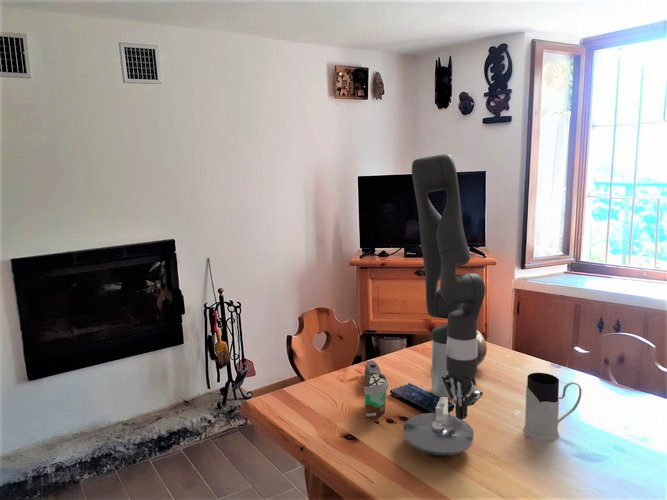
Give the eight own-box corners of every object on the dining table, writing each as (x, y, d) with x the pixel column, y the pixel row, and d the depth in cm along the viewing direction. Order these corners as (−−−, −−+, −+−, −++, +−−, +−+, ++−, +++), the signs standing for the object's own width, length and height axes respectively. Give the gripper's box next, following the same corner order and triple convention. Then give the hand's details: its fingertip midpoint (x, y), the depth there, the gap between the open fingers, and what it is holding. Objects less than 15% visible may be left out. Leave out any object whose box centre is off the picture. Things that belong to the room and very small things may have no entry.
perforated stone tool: (364, 373, 169) (363, 354, 168) (379, 373, 169) (379, 354, 168) (365, 392, 154) (365, 372, 153) (382, 392, 154) (382, 371, 153)
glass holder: (518, 424, 133) (520, 371, 130) (571, 423, 132) (574, 370, 130) (530, 441, 124) (532, 386, 121) (587, 441, 123) (590, 385, 121)
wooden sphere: (482, 379, 161) (483, 335, 158) (437, 372, 167) (437, 330, 165) (489, 362, 174) (490, 322, 172) (447, 357, 181) (447, 318, 178)
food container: (387, 422, 135) (386, 389, 134) (365, 421, 137) (364, 387, 135) (390, 402, 147) (390, 370, 146) (370, 400, 148) (369, 369, 147)
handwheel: (467, 461, 111) (467, 434, 109) (395, 446, 117) (394, 421, 116) (477, 425, 126) (478, 401, 125) (413, 413, 133) (413, 391, 132)
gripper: (492, 358, 117) (491, 425, 120) (455, 342, 129) (455, 403, 132) (468, 365, 114) (467, 434, 117) (433, 347, 125) (432, 410, 128)
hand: (461, 417), depth 124 cm, fingers closed
